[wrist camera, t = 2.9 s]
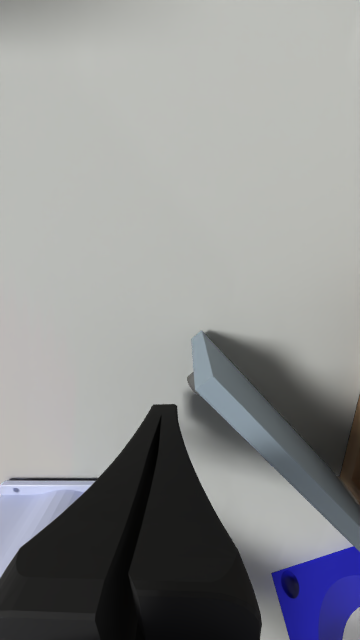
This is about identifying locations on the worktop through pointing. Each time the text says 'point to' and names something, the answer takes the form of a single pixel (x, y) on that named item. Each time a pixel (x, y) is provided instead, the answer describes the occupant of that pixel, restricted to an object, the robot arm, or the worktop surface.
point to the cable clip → (319, 595)
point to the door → (272, 436)
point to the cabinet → (353, 458)
